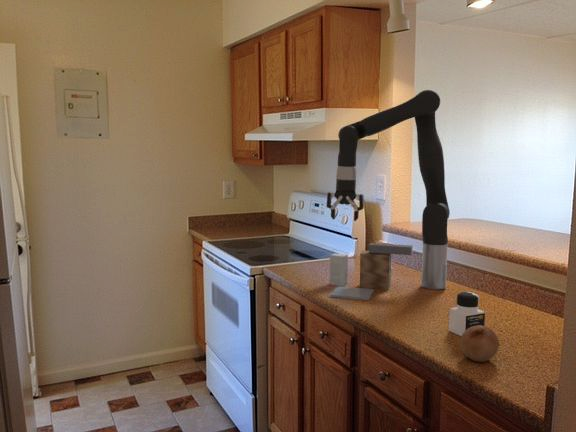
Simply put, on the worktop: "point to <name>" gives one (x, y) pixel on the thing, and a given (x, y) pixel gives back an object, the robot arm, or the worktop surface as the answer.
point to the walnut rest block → (375, 270)
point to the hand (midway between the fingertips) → (344, 219)
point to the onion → (479, 343)
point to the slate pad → (352, 293)
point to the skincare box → (339, 269)
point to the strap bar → (390, 249)
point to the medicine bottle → (465, 313)
